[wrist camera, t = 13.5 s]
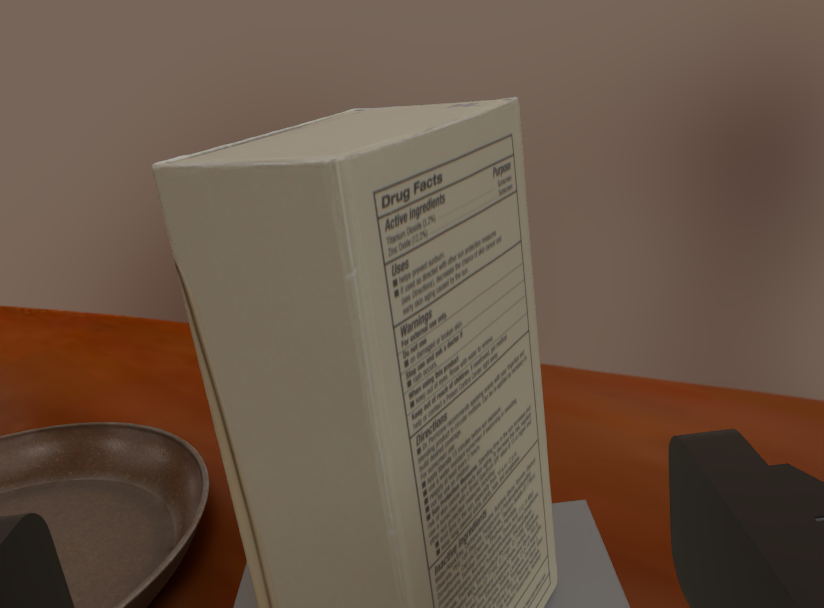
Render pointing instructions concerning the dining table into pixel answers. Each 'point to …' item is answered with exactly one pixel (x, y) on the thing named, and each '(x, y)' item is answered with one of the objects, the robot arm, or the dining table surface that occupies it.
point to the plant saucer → (108, 504)
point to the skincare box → (373, 355)
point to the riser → (575, 557)
